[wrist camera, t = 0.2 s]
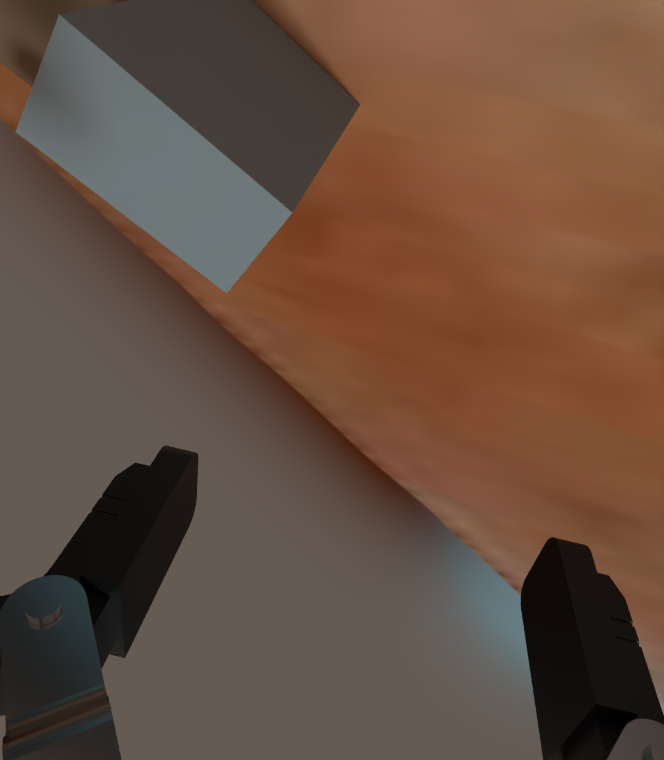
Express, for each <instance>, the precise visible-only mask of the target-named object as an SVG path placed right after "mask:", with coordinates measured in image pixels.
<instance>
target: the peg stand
mask: <svg viewBox="0 0 664 760" xmlns="http://www.w3.org/2000/svg"><path fill="white" fill-rule="evenodd" d="M122 1H127V0H0V62H1V63H2V64H4V65H5V66H6V67H7V68H9V69H10V70H11V71H12V72H14V73H15V74H16V75H18V76H19V77H20V78H21V79H23V80H24V81H25V82H26V83H28V84H29V85H30V86H31V87H33V84H34V81H35V78H36V76H37V73H38V70H39V67H40V65H41V62H42V59H43V57H44V54H45V51H46V48H47V46H48V43H49V40H50V38H51V35H52V32H53V29H54V27H55V24H56V21H57V19H58V16H59V14H63V13H68V12H73V11H78V10H83V9H88V8H93V7H98V6H103V5H108V4H112V3H117V2H122Z"/></svg>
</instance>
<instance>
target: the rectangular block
mask: <svg viewBox="0 0 664 760" xmlns="http://www.w3.org/2000/svg"><path fill="white" fill-rule="evenodd" d="M359 106H360V104H359V103H358V102H357V101H356V100H355V99H354V98H353V97H352V96H351V95H349V94H348V93H347V92H346V91H345V90H344V89H343V88H342V87H341V86H340V85H339V84H338V83H337V82H336V81H335V80H334V79H333V78H332V77H331V76H330V75H329V74H328V73H327V72H326V71H324V70H323V69H322V68H321V67H320V66H319V65H318V64H317V63H316V62H315V61H314V60H313V59H312V58H311V57H310V56H309V55H308V54H307V53H306V52H305V51H304V50H303V49H302V48H301V47H300V46H298V45H297V44H296V43H295V42H294V41H293V40H292V39H291V38H290V37H289V36H288V35H287V34H286V33H285V32H284V31H283V30H282V29H281V28H280V27H279V26H278V25H277V24H276V23H275V22H273V21H272V20H271V19H270V18H269V17H268V16H267V15H266V14H265V13H264V12H263V11H262V10H261V9H260V8H259V7H258V6H257V5H256V4H255V3H254V2H253V1H252V0H127V1H122V2H117V3H112V4H108V5H103V6H98V7H93V8H88V9H83V10H78V11H73V12H68V13H63V14H59V16H58V19H57V21H56V24H55V27H54V29H53V32H52V35H51V38H50V40H49V43H48V46H47V48H46V51H45V54H44V57H43V59H42V62H41V65H40V67H39V70H38V73H37V76H36V78H35V81H34V84H33V87H32V89H31V92H30V95H29V97H28V100H27V103H26V106H25V108H24V111H23V114H22V116H21V119H20V122H19V125H18V127H17V130H16V132H17V133H18V134H19V135H21V136H22V137H23V138H24V139H26V140H27V141H28V142H30V143H31V144H32V145H34V146H35V147H36V148H38V149H39V150H40V151H41V152H43V153H44V154H45V155H47V156H48V157H49V158H51V159H52V160H53V161H54V162H56V163H57V164H58V165H60V166H61V167H62V168H64V169H65V170H66V171H68V172H69V173H70V174H71V175H73V176H74V177H75V178H77V179H78V180H79V181H81V182H82V183H83V184H85V185H86V186H87V187H88V188H90V189H91V190H92V191H94V192H95V193H96V194H98V195H99V196H100V197H101V198H103V199H104V200H105V201H107V202H108V203H109V204H111V205H112V206H113V207H115V208H116V209H117V210H118V211H120V212H121V213H122V214H124V215H125V216H126V217H128V218H129V219H130V220H131V221H133V222H134V223H135V224H137V225H138V226H139V227H141V228H142V229H143V230H145V231H146V232H147V233H148V234H150V235H151V236H152V237H154V238H155V239H156V240H158V241H159V242H160V243H162V244H163V245H164V246H165V247H167V248H168V249H169V250H171V251H172V252H173V253H175V254H176V255H177V256H178V257H180V258H181V259H182V260H184V261H185V262H186V263H188V264H189V265H190V266H192V267H193V268H194V269H195V270H197V271H198V272H199V273H201V274H202V275H203V276H205V277H206V278H207V279H208V280H210V281H211V282H212V283H214V284H215V285H216V286H218V287H219V288H220V289H222V290H223V291H224V292H225V293H227V292H228V291H229V290H230V288H231V287H232V286H233V285H234V284H235V282H236V281H237V280H238V279H239V277H240V276H241V275H242V274H243V273H244V271H245V270H246V269H247V268H248V266H249V265H250V264H251V263H252V262H253V260H254V259H255V258H256V257H257V255H258V254H259V253H260V252H261V251H262V249H263V248H264V247H265V246H266V244H267V243H268V242H269V241H270V240H271V238H272V237H273V236H274V235H275V233H276V232H277V231H278V230H279V229H280V227H281V226H282V225H283V224H284V222H285V221H286V220H287V219H288V217H289V216H290V215H291V214H292V213H293V211H294V209H295V208H296V206H297V205H298V203H299V201H300V200H301V198H302V197H303V195H304V193H305V192H306V190H307V189H308V187H309V186H310V184H311V182H312V181H313V179H314V178H315V176H316V174H317V173H318V171H319V170H320V168H321V166H322V165H323V163H324V162H325V160H326V158H327V157H328V155H329V154H330V152H331V151H332V149H333V147H334V146H335V144H336V143H337V141H338V139H339V138H340V136H341V135H342V133H343V131H344V130H345V128H346V127H347V125H348V123H349V122H350V120H351V119H352V117H353V116H354V114H355V112H356V111H357V109H358V108H359Z"/></svg>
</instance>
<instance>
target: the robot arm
mask: <svg viewBox="0 0 664 760" xmlns="http://www.w3.org/2000/svg"><path fill="white" fill-rule="evenodd" d="M197 477H198V454H197V453H195V452H191V451H187V450H182V449H178V448H174V447H170V446H164V447H162V449H161V450H160V451H159V453H158V454H157V456H156V458H155V459H154V461H153V462H152V464H151V465H150V466H148V465H143V464H139V463H134V464H133V465H131V466H130V467H128V468H127V469H125V470H124V471H122V472H121V473H119V474H118V475H117V476H115V478H114V479H113V480H112V482H111V483H110V485H109V486H108V487H107V489H106V490H105V492H104V493H103V496H102V498H100V499H99V500H98V502H97V503H96V504H95V506H94V507H93V509H92V512H91V513H89V514H88V516H87V517H86V519H85V520H84V522H83V523H82V524H81V526H80V527H79V529H78V530H77V531H76V533H75V534H74V536H73V537H72V538H71V540H70V542H69V543H68V544H67V546H66V547H65V548H64V550H63V551H62V553H61V554H60V556H59V557H58V558H57V560H56V561H55V563H54V564H53V565H52V567H51V568H50V569H49V571H48V572H47V573H46V574H45V575H44V576H43V577H39V578H36V579H33V580H31V581H29V582H27V583H25V584H24V585H22V586H20V587H19V588H18V589H16V590H15V591H14V592H13V593H12V594H9V595H4V596H0V716H2V715H5V721H6V735H5V736H4V738H3V746H2V752H3V754H2V755H3V760H121V755H120V750H119V745H118V740H117V736H116V730H115V725H114V721H113V716H112V711H111V706H110V702H109V699H108V696H107V694H106V690H105V685H104V680H103V675H102V670H101V669H102V667H103V665H104V663H105V661H106V659H107V657H108V655H109V654H111V655H115V656H119V657H123V658H125V657H126V655H127V653H128V651H129V649H130V647H131V645H132V642H133V641H134V638H135V636H136V634H137V632H138V630H139V628H140V626H141V624H142V622H143V620H144V618H145V616H146V614H147V612H148V610H149V608H150V606H151V604H152V602H153V600H154V598H155V595H156V593H157V591H158V589H159V587H160V585H161V583H162V581H163V579H164V576H165V575H166V573H167V571H168V569H169V567H170V565H171V563H172V561H173V559H174V557H175V554H176V552H177V550H178V548H179V546H180V544H181V542H182V540H183V538H184V536H185V534H186V532H187V530H188V528H189V526H190V523H191V521H192V518H193V515H194V511H195V506H196V500H197ZM521 611H522V618H523V624H524V631H525V638H526V645H527V652H528V659H529V665H530V672H531V678H532V686H533V693H534V699H535V706H536V713H537V720H538V727H539V733H540V740H541V747H542V754H543V760H664V715H663V712H662V709H661V706H660V703H659V700H658V697H657V694H656V691H655V688H654V685H653V682H652V679H651V676H650V673H649V670H648V666H647V663H646V660H645V657H644V654H643V651H642V648H641V647H639V639H638V636H637V633H636V630H635V627H633V626H632V623H633V621H632V618H631V615H630V612H629V609H628V606H627V603H626V600H625V598H624V596H623V595H622V594H621V592H620V591H619V589H618V588H617V587H616V585H615V584H614V582H613V581H612V580H611V578H610V577H609V576H608V575H604V574H600V573H597V570H596V567H595V563H594V560H593V557H592V553H591V551H590V549H589V547H588V546H586V545H583V544H579V543H574V542H570V541H566V540H562V539H557V538H553V537H552V538H549V539H548V540H547V542H546V543H545V545H544V547H543V548H542V550H541V552H540V554H539V555H538V557H537V559H536V561H535V563H534V564H533V566H532V568H531V570H530V571H529V573H528V575H527V577H526V578H525V581H524V583H523V587H522V592H521Z"/></svg>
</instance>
